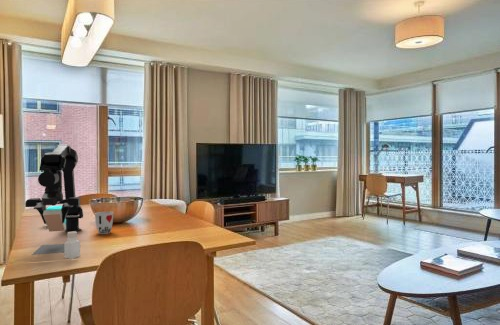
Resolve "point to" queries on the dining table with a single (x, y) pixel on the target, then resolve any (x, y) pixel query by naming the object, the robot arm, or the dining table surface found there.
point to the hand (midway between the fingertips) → (54, 223)
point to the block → (54, 220)
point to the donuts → (55, 209)
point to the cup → (104, 221)
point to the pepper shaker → (72, 245)
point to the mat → (50, 249)
